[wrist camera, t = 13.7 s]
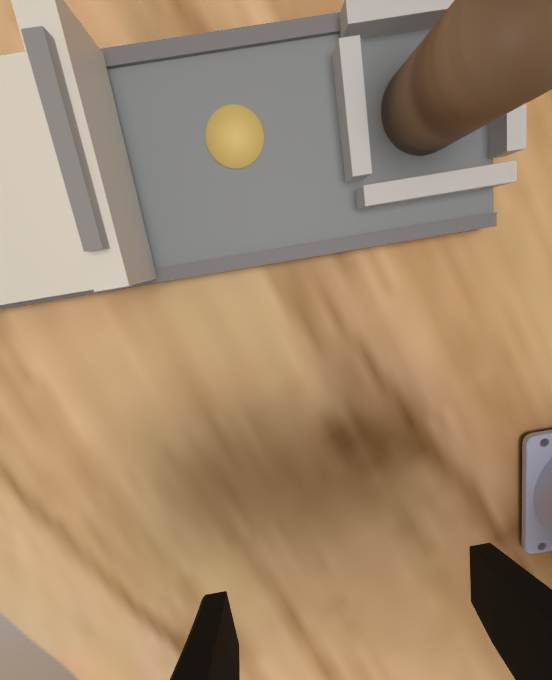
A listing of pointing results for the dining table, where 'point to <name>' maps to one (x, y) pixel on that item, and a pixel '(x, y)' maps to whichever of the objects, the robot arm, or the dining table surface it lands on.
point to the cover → (63, 166)
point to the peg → (469, 72)
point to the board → (291, 143)
